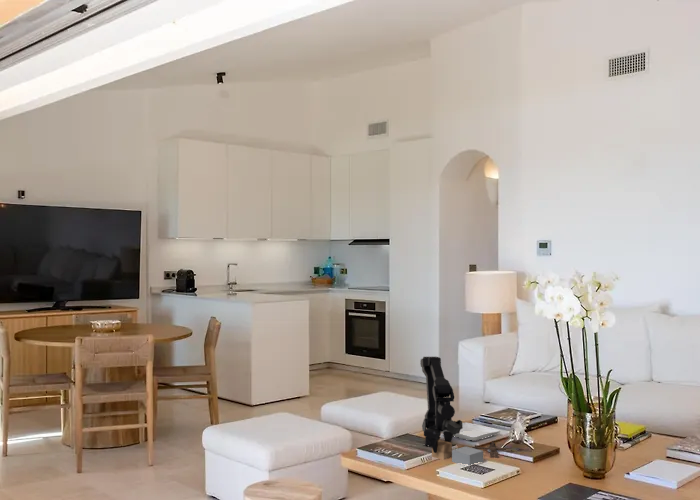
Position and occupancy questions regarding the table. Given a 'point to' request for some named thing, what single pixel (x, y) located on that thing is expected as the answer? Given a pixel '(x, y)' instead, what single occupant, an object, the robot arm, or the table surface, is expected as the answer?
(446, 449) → the walnut cube
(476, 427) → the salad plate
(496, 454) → the bear figurine
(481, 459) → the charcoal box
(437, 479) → the table surface
